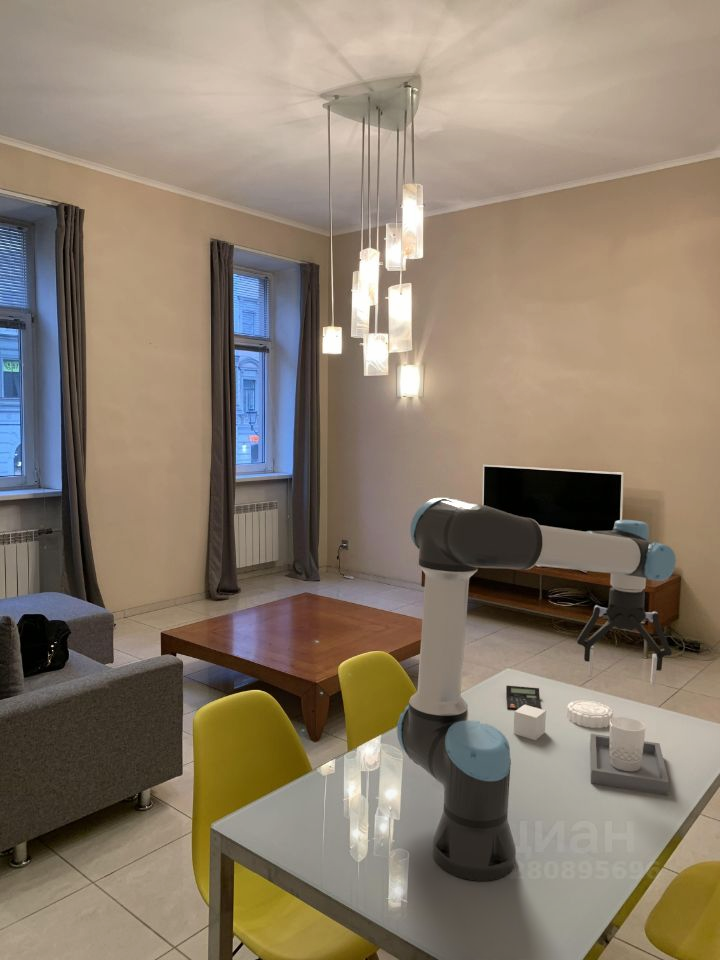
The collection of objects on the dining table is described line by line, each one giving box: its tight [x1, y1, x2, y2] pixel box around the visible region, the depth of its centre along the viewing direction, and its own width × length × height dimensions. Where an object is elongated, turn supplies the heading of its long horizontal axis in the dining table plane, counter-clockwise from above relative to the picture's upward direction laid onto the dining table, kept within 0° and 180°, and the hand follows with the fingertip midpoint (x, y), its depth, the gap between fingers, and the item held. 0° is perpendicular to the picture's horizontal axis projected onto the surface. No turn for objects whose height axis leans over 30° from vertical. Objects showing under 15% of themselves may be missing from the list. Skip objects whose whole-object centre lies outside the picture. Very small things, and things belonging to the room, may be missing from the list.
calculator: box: [505, 685, 542, 711], centre depth 207 cm, size 9×12×3 cm
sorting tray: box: [589, 733, 670, 796], centre depth 169 cm, size 20×16×3 cm
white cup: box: [608, 716, 647, 772], centre depth 169 cm, size 8×8×10 cm
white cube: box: [513, 705, 547, 741], centre depth 187 cm, size 6×6×6 cm
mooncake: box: [566, 699, 614, 729], centre depth 197 cm, size 12×12×4 cm
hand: (621, 679), depth 166 cm, fingers open, 13 cm apart
